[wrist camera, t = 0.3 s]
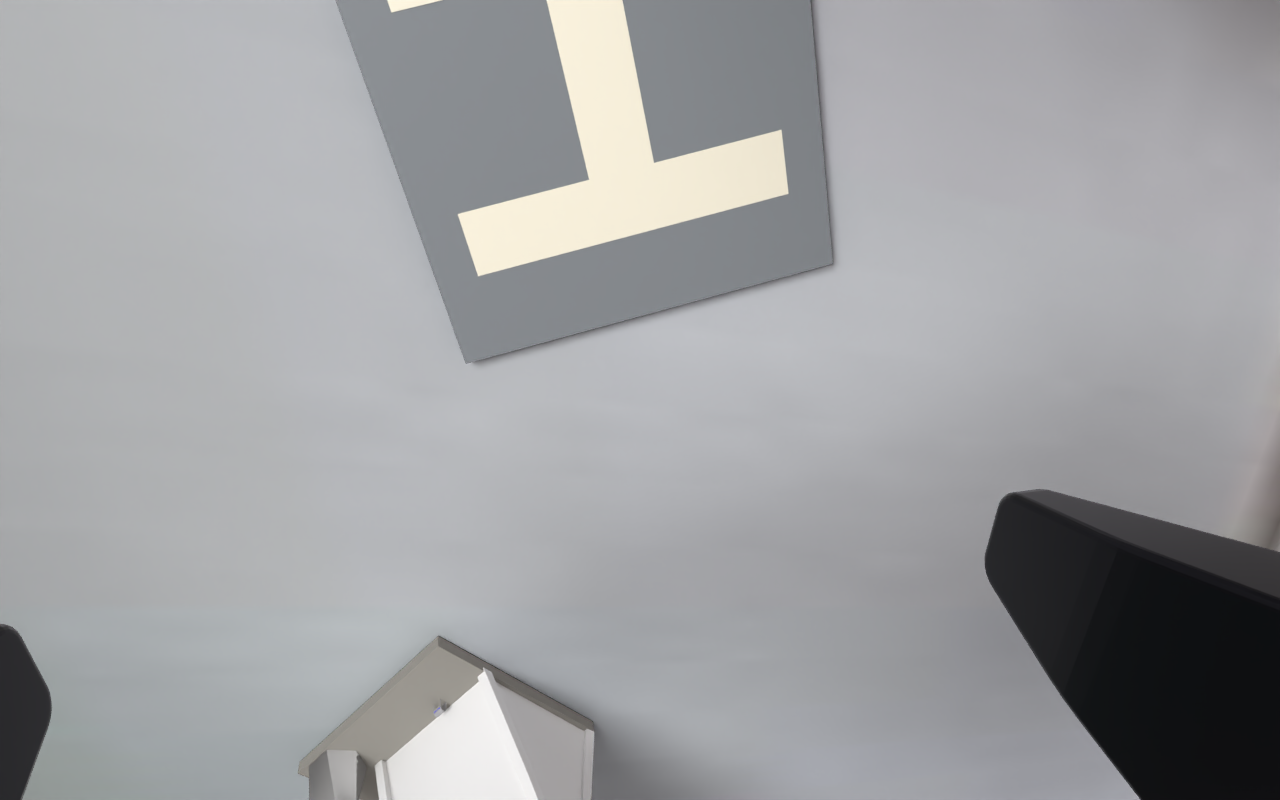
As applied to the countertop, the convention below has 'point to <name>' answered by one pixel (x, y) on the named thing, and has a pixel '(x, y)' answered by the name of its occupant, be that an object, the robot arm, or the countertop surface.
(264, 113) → the countertop surface
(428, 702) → the skyscraper
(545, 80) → the letter card
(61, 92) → the countertop surface
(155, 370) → the countertop surface
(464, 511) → the countertop surface
